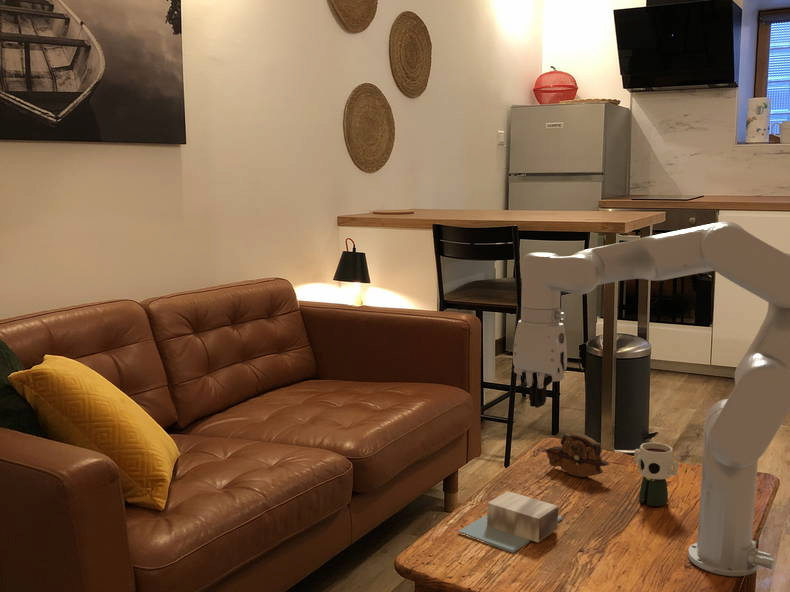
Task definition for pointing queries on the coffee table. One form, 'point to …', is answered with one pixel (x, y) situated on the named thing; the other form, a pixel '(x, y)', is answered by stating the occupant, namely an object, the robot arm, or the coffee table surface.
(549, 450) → the wooden carving
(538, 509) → the birch block
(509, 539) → the grey mat
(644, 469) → the character mug
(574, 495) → the coffee table surface
